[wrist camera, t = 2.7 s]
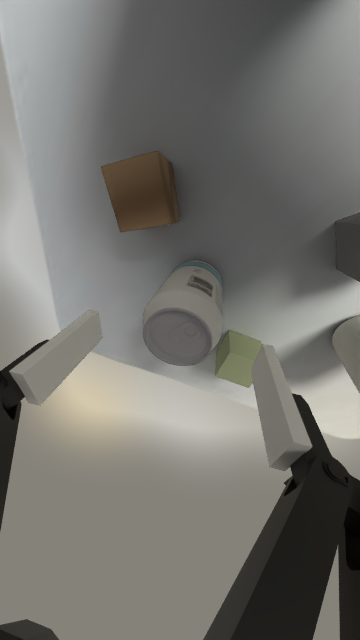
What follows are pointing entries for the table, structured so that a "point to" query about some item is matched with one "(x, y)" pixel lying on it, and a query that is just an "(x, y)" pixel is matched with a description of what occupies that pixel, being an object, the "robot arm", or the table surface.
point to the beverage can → (185, 315)
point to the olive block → (237, 358)
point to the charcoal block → (348, 246)
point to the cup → (349, 347)
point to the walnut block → (142, 191)
